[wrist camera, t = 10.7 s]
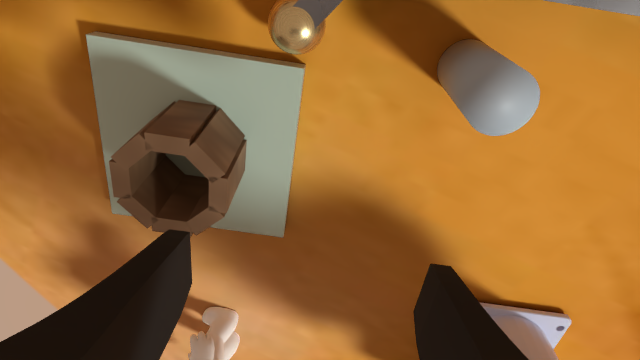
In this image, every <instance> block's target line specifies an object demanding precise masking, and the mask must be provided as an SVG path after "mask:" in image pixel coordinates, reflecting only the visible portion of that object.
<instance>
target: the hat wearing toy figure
mask: <svg viewBox="0 0 640 360" xmlns="http://www.w3.org/2000/svg"><path fill="white" fill-rule="evenodd" d="M202 321H203V322H204V323H206V324H208V325H210V328H209V330H208V331H207V333H206V335H205V333H204V332H203V331H200V332H199V333H198V339H197V336H196V335H195V334H193V335H191V337H190V345H191V353H189V354H188V357H189V360H229V359H230V358H231V357H232V356H233V354H234V353H235V352H236V350H237V347H238V345H239V342H240V337H239V335H238V334H237V333H236V332H235V331H234V330H235V328H236V325H237V323H238V314H237V312H236V311H234V310H231V309H227V308H222V307H209V308H207V309H206V310H205V311H204V314H203V316H202Z"/></svg>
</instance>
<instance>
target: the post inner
mask: <svg viewBox="0 0 640 360" xmlns="http://www.w3.org/2000/svg"><path fill="white" fill-rule="evenodd" d="M437 76H438V80H439V82H440V84H441V85H442V87H443V88H444V89H445V91H446V92H447V93H448V95H449V96H450V97H451V99H452V100H453V101H454V103H455V104H456V105H457V107H458V108H459V109H460V111H461V112H462V113H463V115H464V116H465V117H466V119H467V120H468V121H469V123H470V124H471V125H472V127H473V128H474V129H476V130H477V131H479V132H480V133H483V134H486V135H491V136H500V135H505V134H509V133H511V132H514V131H516V130H518V129H519V128H521V127H522V126H523V125H525V124H526V123H527V122H528V121H529V120H530V119H531V117H532V116H533V114H534V113H535V111H536V109H537V107H538V104H539V100H540V90H539V86H538V83H537V81H536V79H535V78H534V77H533V76H532V75H531V74H530V73H529V72H527V71H526V70H524V69H523V68H521V67H520V66H518V65H517V64H515V63H513V62H512V61H510V60H509V59H507V58H506V57H504V56H503V55H501V54H500V53H498V52H497V51H495V50H494V49H492V48H490V47H489V46H487V45H486V44H484V43H483V42H481V41H478V40H475V39H466V40H461V41H458V42H456V43H454V44H453V45H451V46H450V47H449V48H448V49H447V50H446V51H445V52H444V53H443V54H442V56H441V58H440V60H439V63H438V67H437Z"/></svg>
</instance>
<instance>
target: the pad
mask: <svg viewBox="0 0 640 360" xmlns="http://www.w3.org/2000/svg"><path fill="white" fill-rule="evenodd" d="M86 39H87V46H88V53H89V60H90V67H91V73H92V80H93V87H94V94H95V100H96V107H97V114H98V121H99V128H100V134H101V141H102V148H103V155H104V161H105V168H106V175H107V182H108V189H109V195H110V202H111V209H112V213H113V214H120V215H127V216H132V215H131V214H130V213H129V212H128V211H127V210H125V209H124V208H123V207H122V206H121V205H120V204H119V203H117V201H118V199H119V198H116V197H114V195H113V188H112V181H111V174H110V166H109V161H110V160H111V159H112V158H111V156H112V155H113V154H114V153H115V152H116V151H118V150H119V149H120V148H121V147H122V146H123V145H124V144H125V143H126V142H127V141H129V140H130V139H131V138H132V137H133V136H134V135H135V134H136V133H137V132H139V131H140V130H141V129H142V128H143V127H144V126H145V125H146V124H147V123H148V122H150V121H151V120H152V119H153V118H154V117H156V116H157V115H158V114H159V113H160V112H162V111H163V110H164V109H165V108H166V107H168V106H169V105H170V104H171V103H172V102H174V101H175V102H177V101H178V100H184V101H191V102H197V103H203V104H210V105H216V111H217V110H219V109H220V108H221V109H222V110H223V111H224V112H225V113H226V115H227V116H228V117H229V118H230V119H231V120H232V121H233V122H234V124H235V125H236V126H237V127H238V128H239V129H240V130H241V131H242V133H243V134H244V135H245V137H244V140H247V144H246V161H245V171H244V174H243V176H242V178H241V181H240V183H239V185H238V188H237V190H236V192H235V195H234V197H233V199H232V202H231V204H230V206H229V209H228V211H227V213H226V214H225V217H224V218H222V219H221V220H219V221H218V222H216V223H215V224H213V225H212V226H210V227H212V228H219V229H226V230H233V231H240V232H247V233H254V234H261V235H269V236H276V237H284V232H285V225H286V217H287V209H288V201H289V193H290V185H291V177H292V169H293V161H294V153H295V145H296V137H297V129H298V121H299V113H300V105H301V97H302V89H303V81H304V73H305V65H306V64H300V63H294V62H287V61H281V60H275V59H268V58H262V57H256V56H249V55H243V54H237V53H230V52H224V51H217V50H211V49H205V48H198V47H192V46H186V45H179V44H173V43H166V42H160V41H154V40H147V39H141V38H135V37H128V36H122V35H115V34H109V33H103V32H96V31H95V32H92V33H89V34H86ZM166 156H167V157H168V158H169V159H170V160H171V161H172V162H173V163H174V164H175V165H176V166H177V167H178V168H179V169H180V170H181V171H182V172H183V173H184V174H186V175H193V176H200V177H205V176H204V175H203V174H202V173H201V172H200V171H199V170H198V169H197V168H196V167H195V166H194V165H193V164H192V163H191V162H190V161H189V160H188V159H187V158H186V157H185V156H181V155H174V154H168V153H166Z"/></svg>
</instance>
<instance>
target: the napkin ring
mask: <svg viewBox="0 0 640 360" xmlns="http://www.w3.org/2000/svg"><path fill="white" fill-rule="evenodd" d="M244 137H245V135H244V134H243V133H242V131H241V130H240V129H239V128H238V127H237V126H236V125H235V124H234V122H233V121H232V120H231V119H230V118H229V117H228V116H227V115H226V113H225V112H224V111H223V110H222V109H221V108H220V109H219V110H217V111H216V105H210V104H203V103H197V102H191V101H184V100H178V101H177V102H175V101H174V102H172V103H171V104H170V105H169V106H168V107H166V108H165V109H164V110H163V111H162V112H160V113H159V114H158V115H157V116H156V117H154V118H153V119H152V120H151V121H150V122H148V123H147V124H146V125H145V126H144V127H143V128H142V129H141V130H140V131H139V132H137V133H136V134H135V135H134V136H133V137H132V138H131V139H130V140H129V141H127V142H126V143H125V144H124V145H123V146H122V147H121V148H120V149H119V150H118V151H116V152H115V153H114V154H113V155H112V156H111V158H112V159H111V160H110V161H109V166H110V174H111V181H112V188H113V195H114V197H116V198H119V199H118V201H117V203H119V204H120V205H121V206H122V207H123V208H124V209H125V210H127V211H128V212H129V213H130V214H131V215H132V216H134V217H135V218H136V219H137V220H138V221H139V222H140V223H142V224H143V225H144V226H145V227H146V228H149V227H150V226H152V231H157V232H164V233H165V232H166V231H167V230H169V229H172V230H179V231H187V232H190V236H192V234H193V233H194V234H195V235H198V234H199V233H201V232H202V231H204V230H205V229H207V228H208V227H210V226H212V225H213V224H215V223H216V222H218V221H219V220H221V219H222V218H224V217H225V214H226V213H227V211H228V209H229V206H230V204H231V202H232V199H233V197H234V195H235V192H236V190H237V188H238V185H239V183H240V181H241V178H242V176H243V174H244V171H245V161H246V144H247V140H244ZM166 153H168V154H174V155H181V156H185V157H186V158H187V159H188V160H189V161H190V162H191V163H192V164H193V165H194V166H195V167H196V168H197V169H198V170H199V171H200V172H201V173H202V174H203V175H204V176H205V177H200V176H193V175H186V174H184V173H183V172H182V171H181V170H180V169H179V168H178V167H177V166H176V165H175V164H174V163H173V162H172V161H171V160H170V159H169V158H168V157H167V156H166Z"/></svg>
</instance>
